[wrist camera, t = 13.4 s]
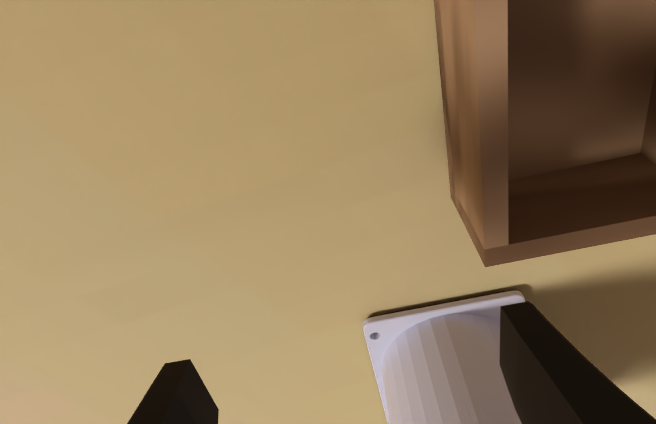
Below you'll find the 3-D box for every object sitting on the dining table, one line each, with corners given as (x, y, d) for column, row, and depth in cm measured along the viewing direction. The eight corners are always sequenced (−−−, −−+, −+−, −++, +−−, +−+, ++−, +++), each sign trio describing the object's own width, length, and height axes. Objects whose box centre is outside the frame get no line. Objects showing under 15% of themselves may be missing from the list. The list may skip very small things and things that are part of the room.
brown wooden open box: (645, 156, 19) (746, 234, 15) (450, 197, 20) (493, 283, 16) (734, -328, 12) (995, -460, 7) (413, -237, 12) (475, -307, 8)
